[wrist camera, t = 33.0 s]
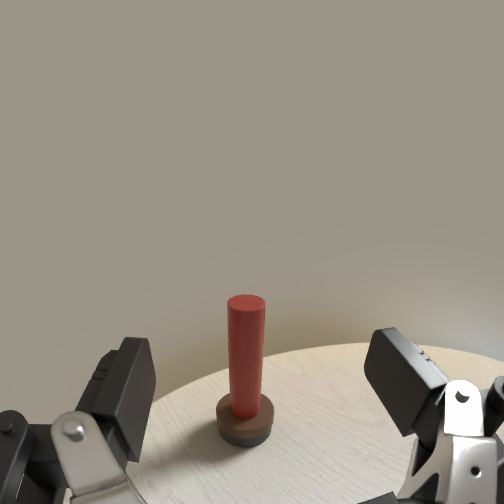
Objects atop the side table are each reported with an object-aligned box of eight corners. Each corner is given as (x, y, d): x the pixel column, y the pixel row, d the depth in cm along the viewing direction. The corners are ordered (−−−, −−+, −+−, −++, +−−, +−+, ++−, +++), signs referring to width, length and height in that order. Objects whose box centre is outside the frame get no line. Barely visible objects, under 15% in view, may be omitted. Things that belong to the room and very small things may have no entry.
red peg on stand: (233, 455, 20) (229, 329, 16) (209, 419, 24) (197, 295, 20) (282, 434, 22) (300, 308, 18) (254, 403, 26) (258, 282, 22)
